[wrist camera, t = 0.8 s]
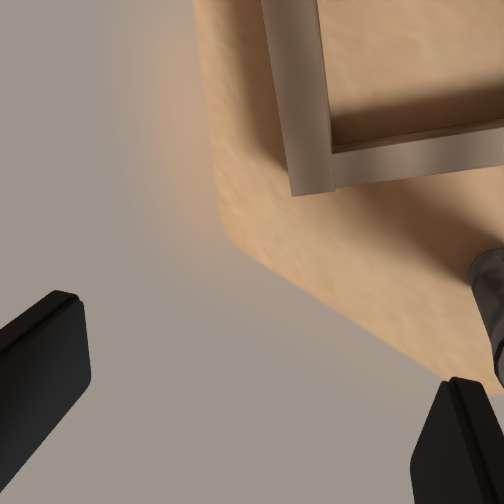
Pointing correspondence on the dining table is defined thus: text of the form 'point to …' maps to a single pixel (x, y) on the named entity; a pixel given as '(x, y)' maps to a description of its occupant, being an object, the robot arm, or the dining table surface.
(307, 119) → the wooden corner bracket
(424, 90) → the dining table surface
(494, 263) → the beverage cup
